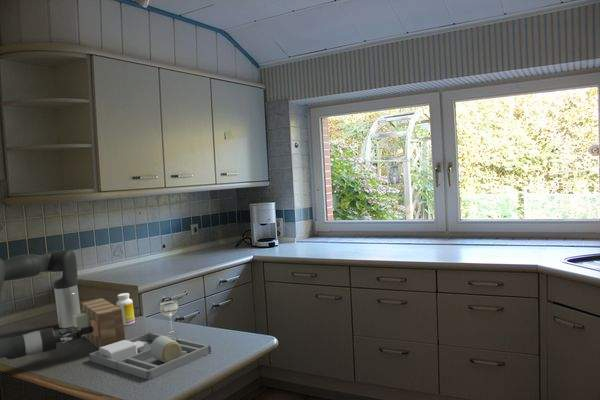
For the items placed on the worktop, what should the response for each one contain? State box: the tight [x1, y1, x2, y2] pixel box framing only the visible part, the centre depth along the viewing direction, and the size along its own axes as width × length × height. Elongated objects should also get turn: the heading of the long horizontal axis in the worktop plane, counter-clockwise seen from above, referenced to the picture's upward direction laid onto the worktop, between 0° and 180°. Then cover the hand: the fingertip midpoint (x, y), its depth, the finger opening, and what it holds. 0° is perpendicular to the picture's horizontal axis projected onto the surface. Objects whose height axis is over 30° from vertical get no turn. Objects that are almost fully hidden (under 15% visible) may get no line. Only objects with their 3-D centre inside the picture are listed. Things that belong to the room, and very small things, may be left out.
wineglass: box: [159, 300, 179, 333], centre depth 195 cm, size 7×7×12 cm
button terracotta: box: [91, 320, 99, 337], centre depth 184 cm, size 5×5×5 cm
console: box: [80, 297, 126, 350], centre depth 192 cm, size 28×8×14 cm, turn 35°
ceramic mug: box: [149, 335, 187, 363], centre depth 165 cm, size 11×8×8 cm
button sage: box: [73, 312, 89, 329], centre depth 196 cm, size 5×5×5 cm
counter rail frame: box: [88, 332, 212, 381], centre depth 170 cm, size 35×24×2 cm
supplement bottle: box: [115, 292, 136, 327], centre depth 215 cm, size 7×7×13 cm
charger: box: [98, 339, 148, 361], centre depth 174 cm, size 5×9×15 cm
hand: (92, 328), depth 183 cm, fingers closed
